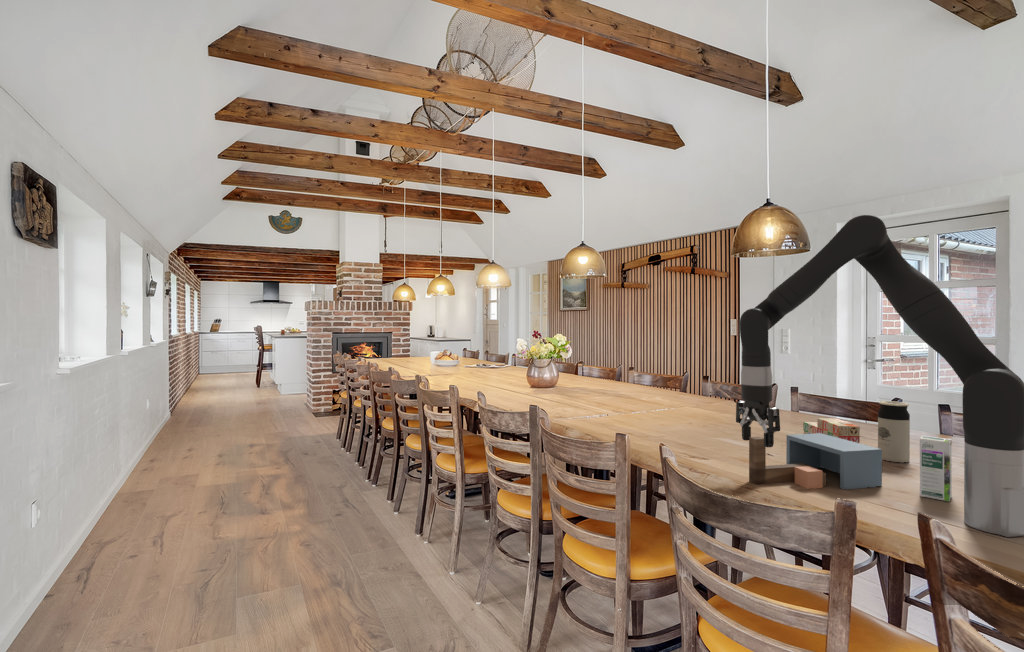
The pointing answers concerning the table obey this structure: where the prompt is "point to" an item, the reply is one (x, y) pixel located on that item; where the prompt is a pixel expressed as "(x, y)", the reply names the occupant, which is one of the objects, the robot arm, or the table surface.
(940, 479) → the syrup box
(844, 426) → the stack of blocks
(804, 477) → the cube
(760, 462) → the bent wooden plank
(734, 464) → the table surface
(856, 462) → the cubby
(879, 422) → the travel mug
